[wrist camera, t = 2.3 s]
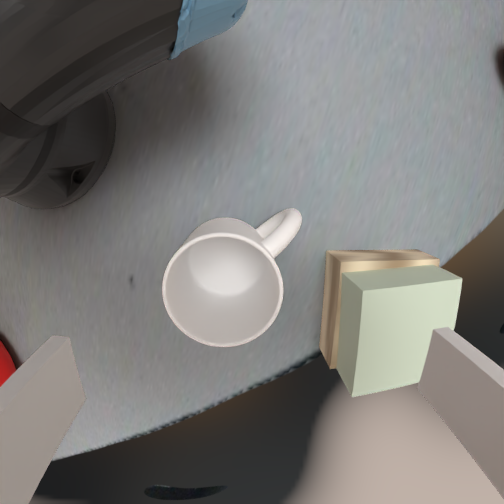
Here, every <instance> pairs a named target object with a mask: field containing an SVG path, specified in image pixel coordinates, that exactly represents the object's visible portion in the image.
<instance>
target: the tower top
mask: <svg viewBox="0 0 504 504" xmlns="http://www.w3.org/2000/svg"><path fill="white" fill-rule="evenodd" d="M461 285H462V278H460V277H458V276H456V275H454V274H452V273H450V272H448V271H446V270H444V269H442V268H440V267H437V266H435V265H433V264H432V265H422V266H411V267H401V268H390V269H379V270H367V271H355V272H343V273H342V286H341V309H340V326H339V341H338V354H337V366H336V368H337V370H338V372H339V374H340V376H341V378H342V379H343V382H344V383H345V385H346V387H347V389H348V391H349V393H350V395H351V396H352V397H355V396H360V395H365V394H370V393H375V392H380V391H385V390H389V389H394V388H398V387H402V386H406V385H410V384H414V383H418V382H419V381H420V378H421V375H422V371H423V368H424V364H425V360H426V357H427V353H428V349H429V345H430V341H431V336H432V332H433V329H438V328H444V327H449V328H450V329H451V330H453V331H454V327H455V322H456V317H457V311H458V305H459V298H460V292H461Z"/></svg>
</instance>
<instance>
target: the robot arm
mask: <svg viewBox="0 0 504 504" xmlns="http://www.w3.org/2000/svg"><path fill="white" fill-rule="evenodd" d="M247 1H248V0H0V197H6V198H8V199H10V200H12V201H15V202H17V203H19V204H21V205H24V206H26V207H29V208H34V209H50V208H55V207H60V206H64V205H67V204H69V203H71V202H73V201H75V200H77V199H78V198H80V197H81V196H82V195H84V194H85V193H86V192H87V191H88V190H89V189H90V188H91V187H92V186H93V185H94V184H95V182H96V181H97V180H98V178H99V177H100V175H101V174H102V172H103V170H104V168H105V166H106V164H107V162H108V159H109V157H110V154H111V151H112V147H113V143H114V137H115V114H114V109H113V105H112V102H111V99H110V97H109V95H108V93H107V91H106V90H107V89H109V88H111V87H112V86H114V85H116V84H118V83H119V82H121V81H123V80H125V79H127V78H129V77H131V76H132V75H134V74H136V73H138V72H140V71H142V70H144V69H146V68H148V67H151V66H153V65H155V64H157V63H159V62H161V61H163V60H166V59H167V60H171V59H174V58H176V57H177V56H178V55H179V54H180V53H181V52H182V51H184V50H186V49H188V48H190V47H192V46H194V45H196V44H198V43H200V42H202V41H204V40H207V39H209V38H211V37H214V36H216V35H219V34H221V33H223V32H225V31H227V30H228V29H230V28H231V27H232V26H233V25H234V24H235V23H236V22H237V21H238V20H239V19H240V17H241V16H242V14H243V12H244V10H245V8H246V5H247ZM417 389H418V390H419V391H420V393H421V394H422V395H423V396H424V398H425V399H426V400H427V401H428V402H429V404H430V405H431V406H432V407H433V409H434V410H435V411H436V412H437V414H438V415H439V416H440V417H441V418H442V420H443V421H444V422H445V423H446V425H447V426H448V427H449V428H450V430H451V431H452V432H453V433H454V435H455V436H456V437H457V439H458V440H459V441H460V442H461V444H462V445H463V446H464V447H465V448H466V450H467V451H468V452H469V454H470V455H471V456H472V458H473V459H474V460H475V462H476V463H477V464H478V466H479V467H480V468H481V469H482V471H483V472H484V473H485V475H486V476H487V477H488V479H489V480H490V481H491V483H492V484H493V485H494V487H495V488H496V489H497V491H498V492H499V493H500V495H501V496H502V498H503V499H504V370H503V369H502V368H500V367H499V366H498V365H497V364H496V363H494V362H493V361H492V360H491V359H489V358H488V357H487V356H485V355H484V354H483V353H482V352H480V351H479V350H478V349H476V348H475V347H474V346H473V345H471V344H470V343H468V342H467V341H466V340H464V339H463V338H462V337H461V336H459V335H458V334H457V333H455V332H454V331H453V330H451V329H450V328H449V327H444V328H438V329H433V332H432V336H431V341H430V345H429V349H428V353H427V357H426V360H425V364H424V368H423V371H422V375H421V378H420V381H419V385H418V388H417ZM85 400H86V396H85V393H84V390H83V387H82V383H81V380H80V377H79V373H78V369H77V366H76V362H75V358H74V354H73V350H72V346H71V342H70V338H69V337H64V336H55V335H52V336H51V337H50V338H49V339H48V340H47V341H46V342H45V343H44V344H43V345H42V346H41V347H39V348H38V349H37V350H36V351H35V352H34V353H33V354H32V355H31V356H30V357H29V358H28V359H27V360H26V361H25V362H24V363H23V364H22V365H21V366H20V367H19V368H18V369H17V370H16V371H15V372H14V373H13V374H12V375H11V376H10V377H9V378H8V379H7V380H6V382H5V383H4V384H3V385H2V386H1V387H0V504H28V503H29V502H30V500H31V498H32V496H33V494H34V492H35V489H36V488H37V486H38V484H39V482H40V480H41V478H42V476H43V475H44V473H45V471H46V469H47V467H48V465H49V463H50V461H51V460H52V458H53V456H54V454H55V452H56V451H57V449H58V447H59V445H60V443H61V442H62V440H63V438H64V436H65V435H66V433H67V431H68V429H69V428H70V426H71V424H72V422H73V421H74V419H75V417H76V416H77V414H78V412H79V410H80V409H81V407H82V405H83V404H84V402H85Z"/></svg>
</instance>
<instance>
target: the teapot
mask: <svg viewBox="0 0 504 504" xmlns="http://www.w3.org/2000/svg"><path fill="white" fill-rule="evenodd" d="M15 371H16V368H15V365H14V363H13V360H12V358H11V356H10V354H9V353H8V351H7V350H6V348H5V346H4V345H3V343H2V342H1V340H0V387H1V386H2V385H3V384H4V383H5V382H6V380H7V379H8V378H9V377H10V376H11V375H12V374H13V373H14V372H15Z"/></svg>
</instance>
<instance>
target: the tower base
mask: <svg viewBox="0 0 504 504" xmlns="http://www.w3.org/2000/svg"><path fill="white" fill-rule="evenodd" d="M439 261H440V259H438V258H436V257H433V256H431V255H429V254H426V253H424V252H422V251H419V250H334V251H326V266H325V283H324V297H323V310H322V322H321V333H320V343H319V348H320V350H321V352H322V354H323V356H324V358H325V360H326V362H327V364H328V366H329V367H330V369H334V368H336V366H337V354H338V341H339V326H340V309H341V286H342V273H343V272H355V271H367V270H379V269H390V268H401V267H411V266H422V265H432V264H433V265H435V266H437V267H439Z"/></svg>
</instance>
